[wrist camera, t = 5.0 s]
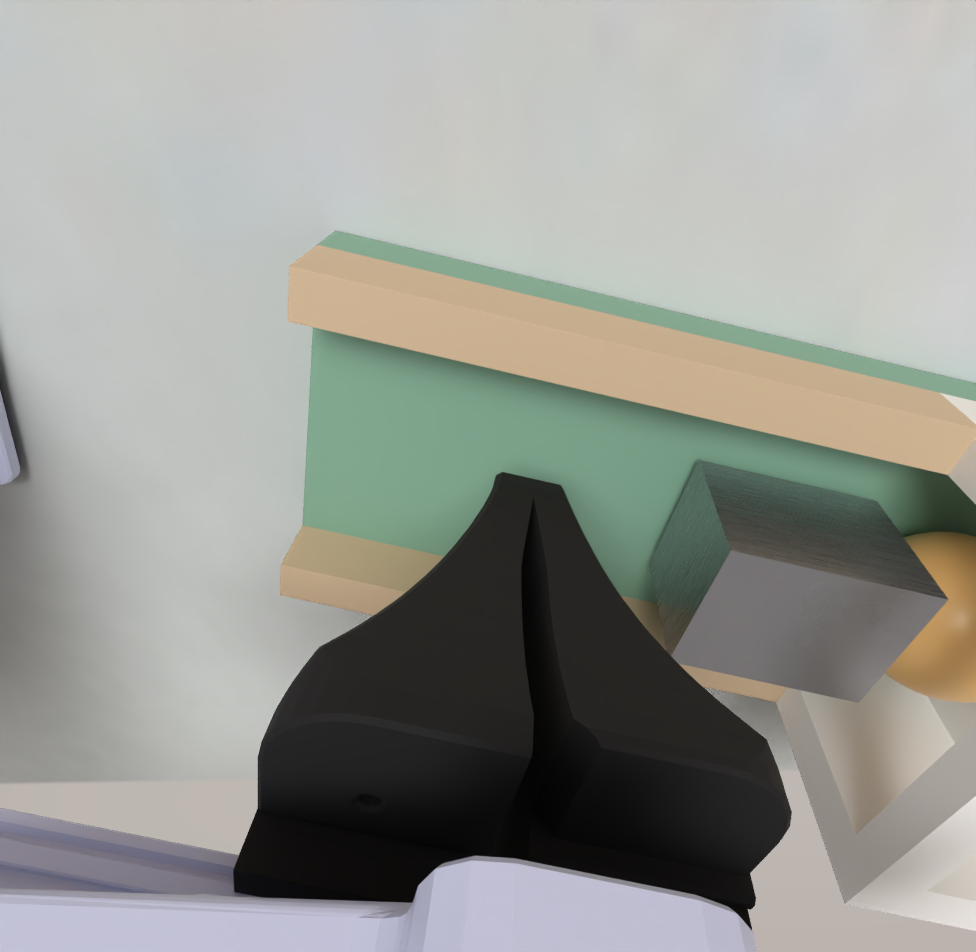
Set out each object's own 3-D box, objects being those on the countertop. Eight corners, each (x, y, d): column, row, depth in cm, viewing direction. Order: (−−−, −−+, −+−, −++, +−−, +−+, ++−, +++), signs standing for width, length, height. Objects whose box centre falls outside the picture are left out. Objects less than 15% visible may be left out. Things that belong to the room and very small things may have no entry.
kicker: (650, 562, 15) (668, 661, 13) (698, 459, 13) (730, 550, 11) (809, 597, 15) (858, 702, 13) (877, 500, 14) (948, 599, 11)
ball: (905, 750, 12) (1019, 724, 14) (1027, 631, 10) (1147, 613, 12) (789, 615, 15) (893, 603, 16) (869, 499, 13) (980, 496, 14)
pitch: (315, 526, 17) (189, 769, 11) (335, 230, 13) (145, 376, 7) (899, 655, 18) (1068, 950, 12) (1108, 415, 14) (1541, 693, 8)
